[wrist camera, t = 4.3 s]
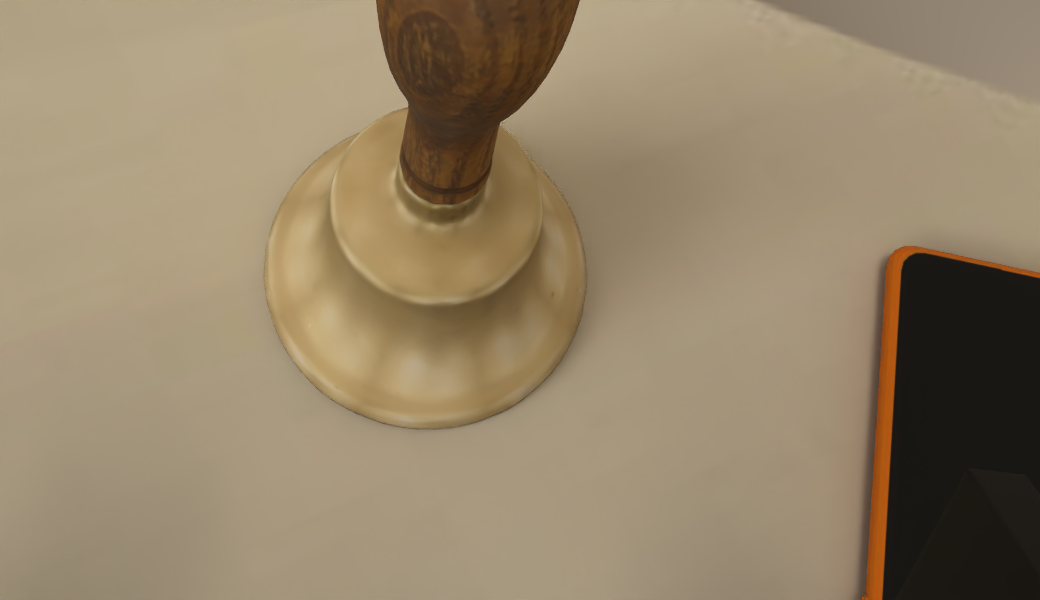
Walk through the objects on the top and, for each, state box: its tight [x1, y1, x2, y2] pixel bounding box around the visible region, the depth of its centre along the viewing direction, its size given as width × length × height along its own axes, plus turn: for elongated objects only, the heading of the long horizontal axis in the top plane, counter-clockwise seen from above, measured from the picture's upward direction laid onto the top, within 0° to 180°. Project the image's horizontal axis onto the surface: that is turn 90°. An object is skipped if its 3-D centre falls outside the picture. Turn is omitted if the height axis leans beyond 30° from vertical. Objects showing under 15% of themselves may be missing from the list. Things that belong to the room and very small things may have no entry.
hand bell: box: [264, 0, 586, 429], centre depth 16 cm, size 8×8×16 cm
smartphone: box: [861, 246, 1040, 600], centre depth 24 cm, size 8×17×1 cm, turn 170°
